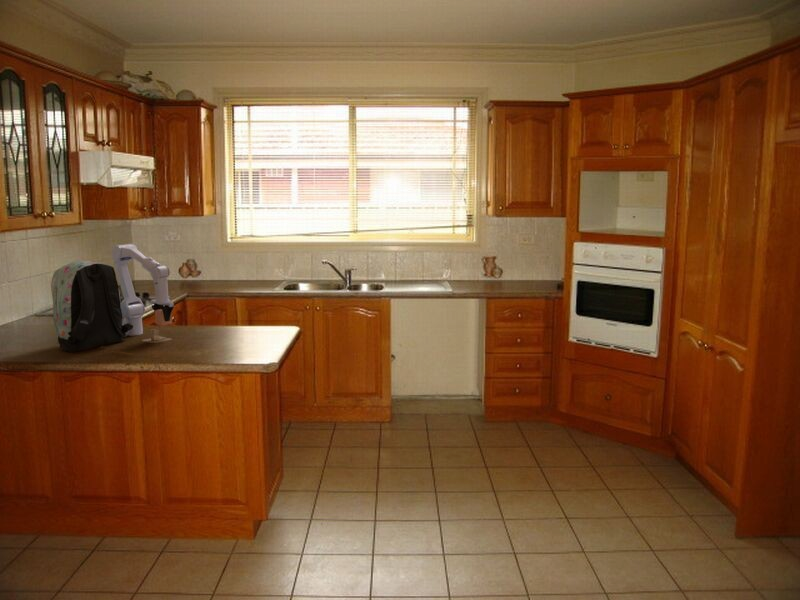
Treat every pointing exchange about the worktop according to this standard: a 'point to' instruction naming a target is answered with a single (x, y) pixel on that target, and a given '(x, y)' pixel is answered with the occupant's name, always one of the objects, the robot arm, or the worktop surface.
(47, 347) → the worktop surface
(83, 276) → the backpack
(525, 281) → the worktop surface
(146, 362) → the worktop surface
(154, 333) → the post
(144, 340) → the board
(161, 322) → the pink rectangular block
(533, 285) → the worktop surface
